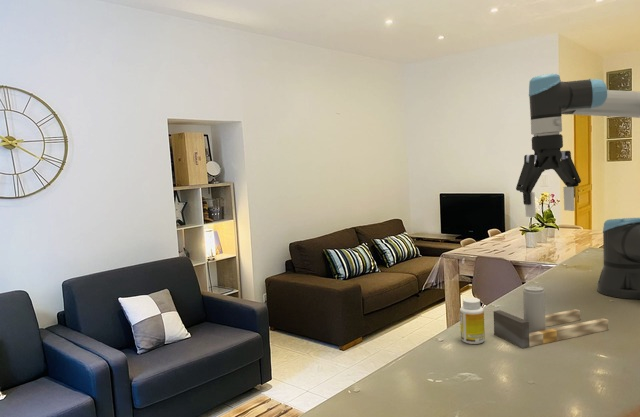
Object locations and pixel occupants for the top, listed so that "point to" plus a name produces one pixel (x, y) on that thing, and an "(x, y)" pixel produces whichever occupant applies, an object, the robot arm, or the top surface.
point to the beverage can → (534, 307)
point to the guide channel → (519, 328)
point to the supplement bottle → (472, 321)
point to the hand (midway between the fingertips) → (550, 213)
